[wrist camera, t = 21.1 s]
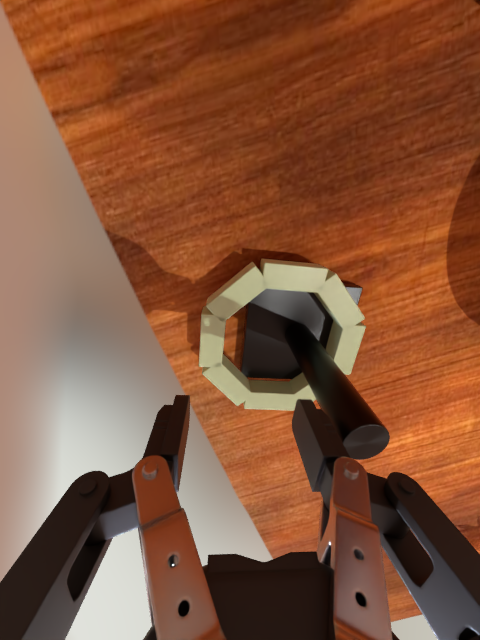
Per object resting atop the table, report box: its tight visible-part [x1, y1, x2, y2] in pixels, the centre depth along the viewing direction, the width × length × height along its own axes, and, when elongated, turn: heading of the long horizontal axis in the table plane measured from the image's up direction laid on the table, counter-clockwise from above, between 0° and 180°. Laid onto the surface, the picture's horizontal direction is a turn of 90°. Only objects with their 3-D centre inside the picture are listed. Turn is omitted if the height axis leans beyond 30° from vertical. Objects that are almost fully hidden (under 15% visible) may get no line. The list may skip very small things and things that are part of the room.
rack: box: [240, 283, 390, 460], centre depth 18 cm, size 10×10×14 cm
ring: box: [199, 259, 366, 411], centre depth 22 cm, size 14×14×2 cm
